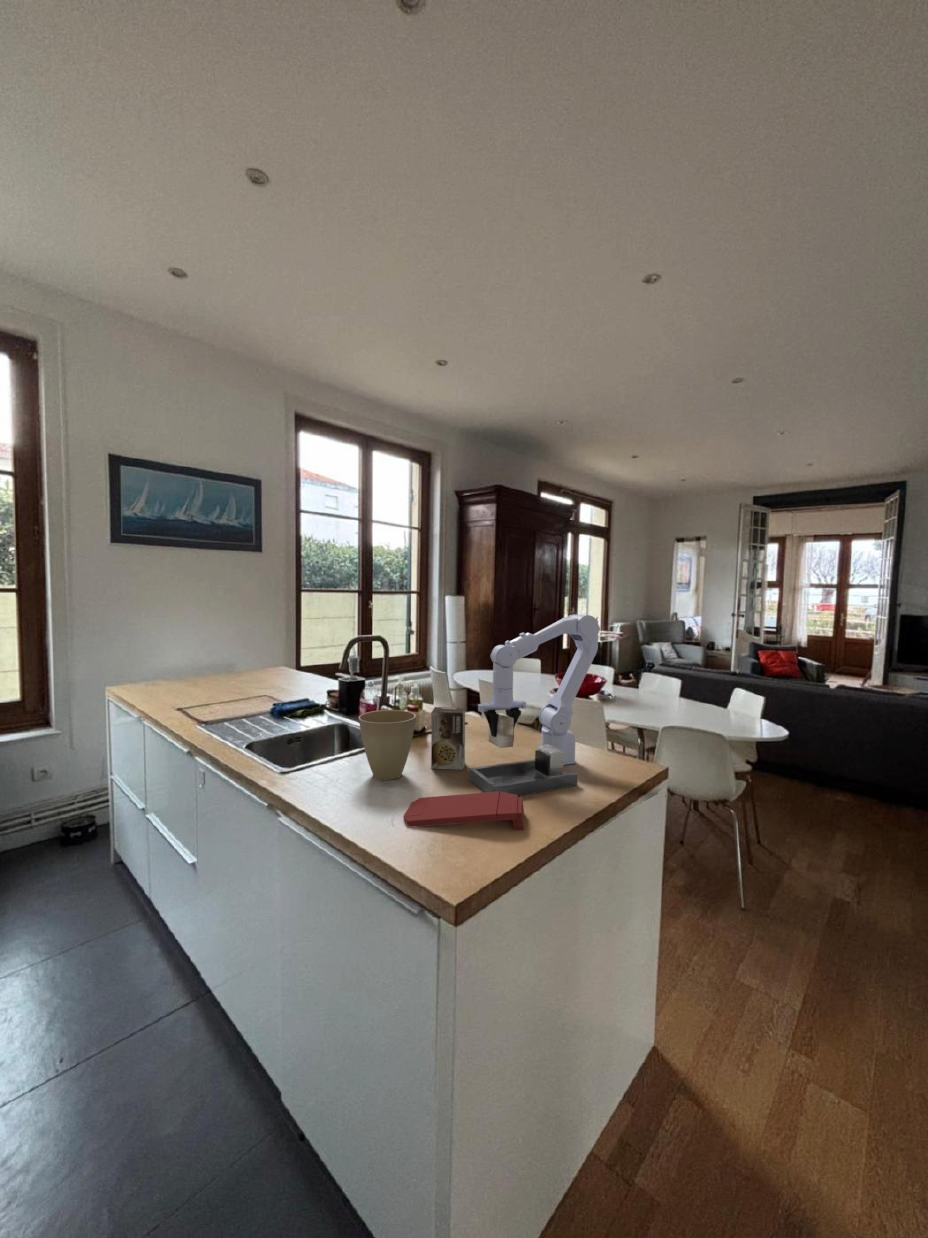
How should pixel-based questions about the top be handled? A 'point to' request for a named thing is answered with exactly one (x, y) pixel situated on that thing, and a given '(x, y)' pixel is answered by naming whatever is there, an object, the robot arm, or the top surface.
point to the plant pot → (387, 741)
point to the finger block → (503, 732)
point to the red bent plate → (466, 809)
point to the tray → (525, 774)
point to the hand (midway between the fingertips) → (501, 735)
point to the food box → (448, 738)
